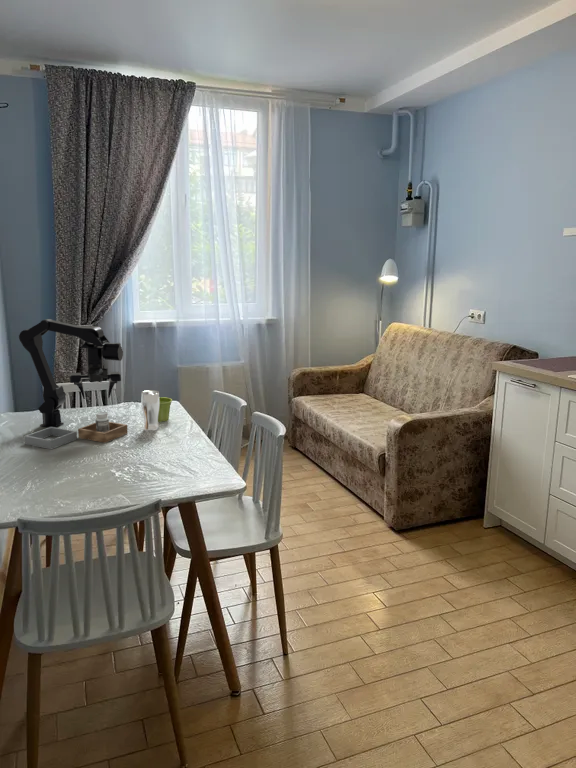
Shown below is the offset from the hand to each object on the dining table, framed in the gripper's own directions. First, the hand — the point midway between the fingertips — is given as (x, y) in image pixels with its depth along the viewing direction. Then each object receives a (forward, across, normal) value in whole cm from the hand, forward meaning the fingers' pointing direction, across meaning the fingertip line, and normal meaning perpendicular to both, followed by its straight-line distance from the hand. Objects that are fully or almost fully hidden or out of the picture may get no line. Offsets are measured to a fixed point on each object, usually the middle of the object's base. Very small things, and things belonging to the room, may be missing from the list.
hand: (96, 398), depth 229 cm
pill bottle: (+11, +2, -12) cm, 17 cm away
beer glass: (+12, +20, -9) cm, 25 cm away
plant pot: (+12, +25, +3) cm, 28 cm away
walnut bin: (+12, +2, -12) cm, 17 cm away
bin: (+12, -16, -14) cm, 25 cm away
